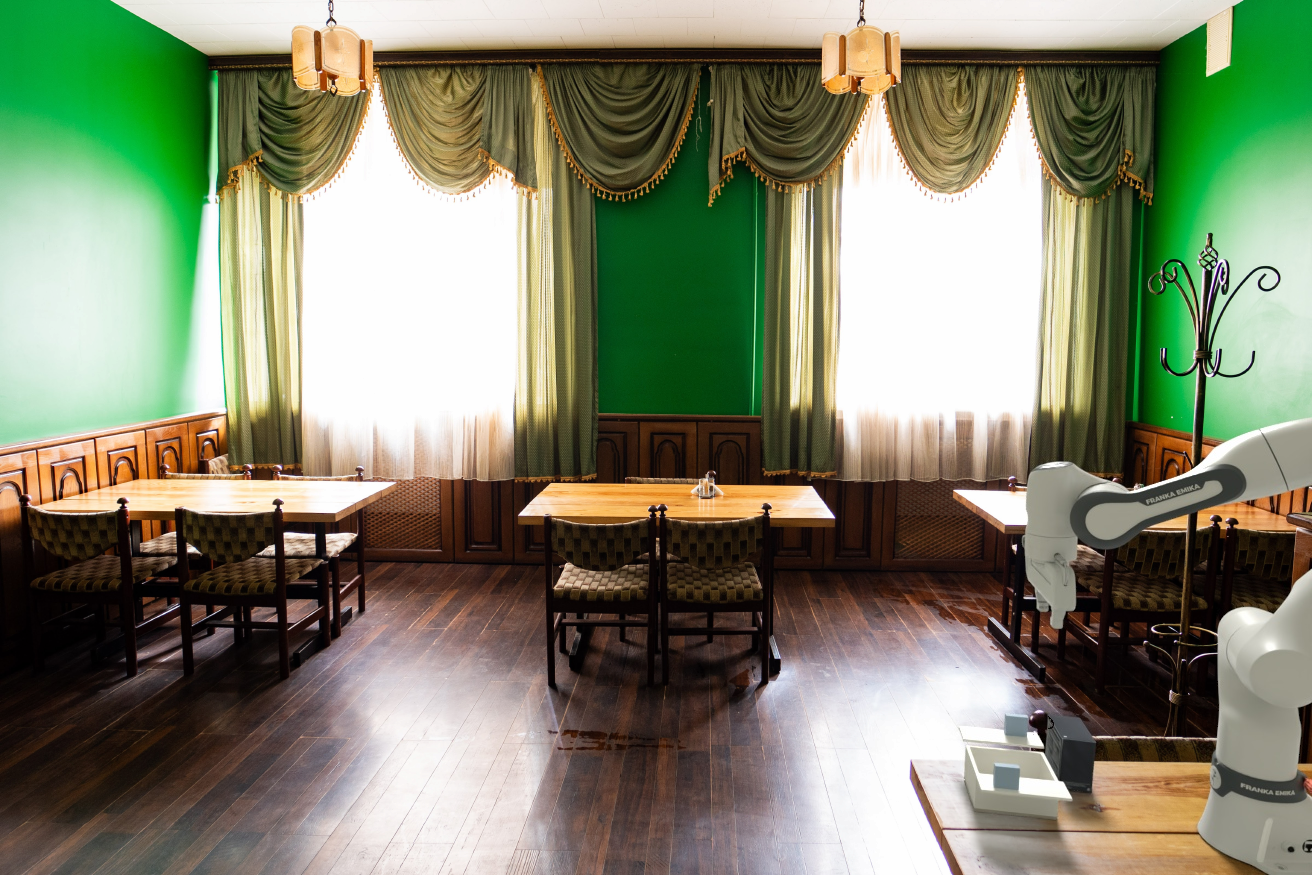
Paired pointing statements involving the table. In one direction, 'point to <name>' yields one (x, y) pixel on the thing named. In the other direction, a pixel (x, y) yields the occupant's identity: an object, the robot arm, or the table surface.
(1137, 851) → the table surface
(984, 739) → the lid panel far
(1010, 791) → the lid panel near
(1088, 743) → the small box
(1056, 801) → the carton
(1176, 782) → the table surface
